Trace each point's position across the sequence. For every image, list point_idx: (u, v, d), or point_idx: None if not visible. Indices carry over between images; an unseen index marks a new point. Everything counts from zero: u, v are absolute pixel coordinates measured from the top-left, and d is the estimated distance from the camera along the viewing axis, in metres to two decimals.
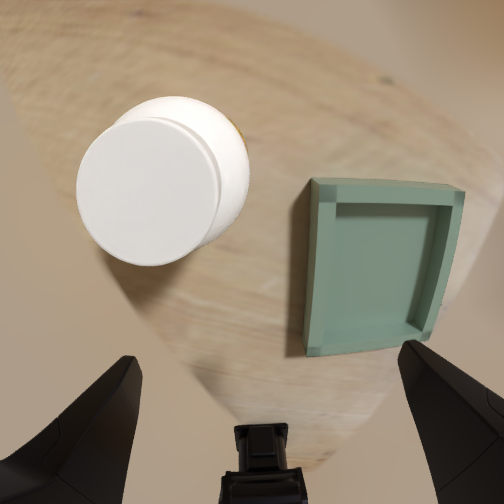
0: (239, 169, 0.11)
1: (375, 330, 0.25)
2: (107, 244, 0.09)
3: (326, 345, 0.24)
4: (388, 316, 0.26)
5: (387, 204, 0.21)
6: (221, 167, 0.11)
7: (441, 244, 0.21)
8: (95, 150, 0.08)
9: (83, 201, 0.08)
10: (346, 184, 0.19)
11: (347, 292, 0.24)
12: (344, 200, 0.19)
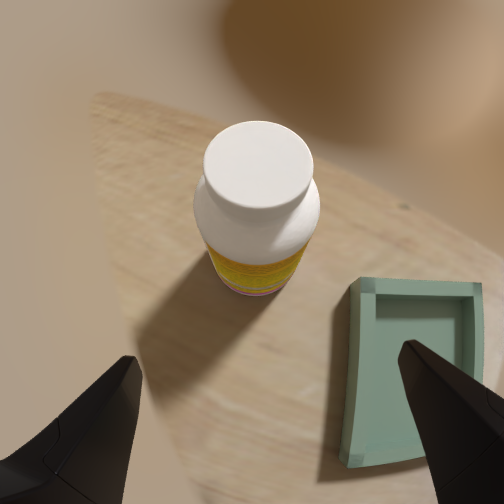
0: (315, 193, 0.15)
1: (418, 439, 0.18)
2: (220, 187, 0.12)
3: (370, 452, 0.17)
4: None
5: (417, 306, 0.22)
6: None
7: (470, 337, 0.20)
8: (230, 131, 0.13)
9: (210, 156, 0.12)
10: None
11: (387, 398, 0.20)
12: (382, 292, 0.21)
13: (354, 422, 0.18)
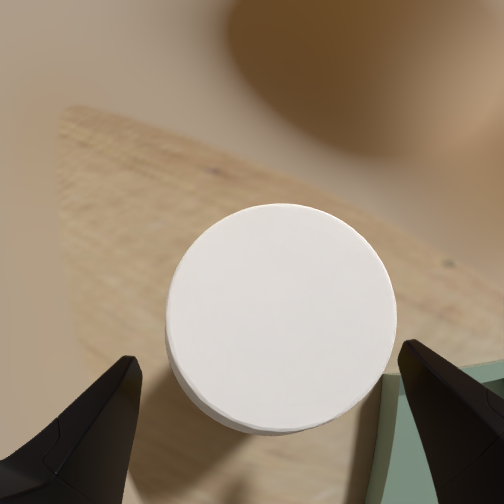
0: None
1: None
2: (204, 384, 0.05)
3: None
4: None
5: None
6: None
7: None
8: (222, 231, 0.06)
9: (180, 302, 0.06)
10: None
11: (412, 493, 0.13)
12: None
13: None
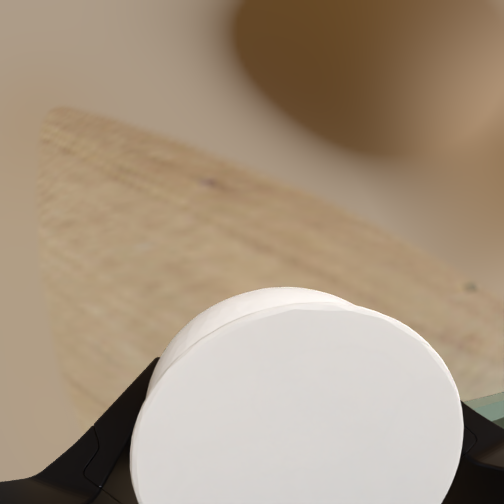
0: None
1: None
2: None
3: None
4: None
5: None
6: None
7: None
8: (211, 357, 0.03)
9: (151, 464, 0.03)
10: None
11: None
12: None
13: None
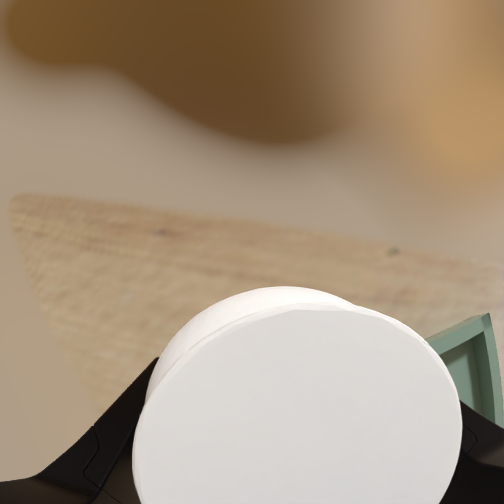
0: None
1: None
2: None
3: None
4: None
5: None
6: None
7: (485, 369, 0.18)
8: (213, 358, 0.03)
9: (153, 465, 0.03)
10: None
11: None
12: None
13: None
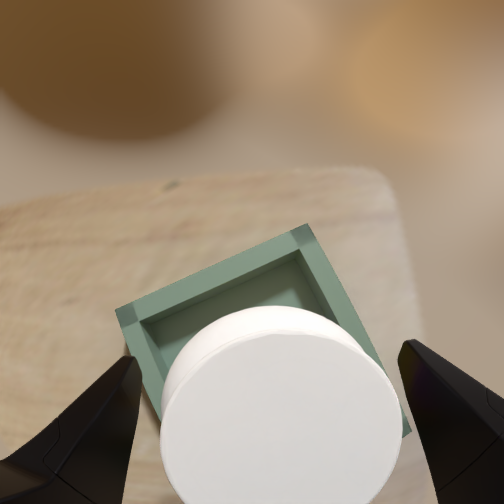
0: None
1: None
2: None
3: None
4: None
5: (223, 302, 0.18)
6: None
7: (325, 304, 0.17)
8: (217, 365, 0.05)
9: (175, 440, 0.05)
10: None
11: None
12: (146, 315, 0.16)
13: None
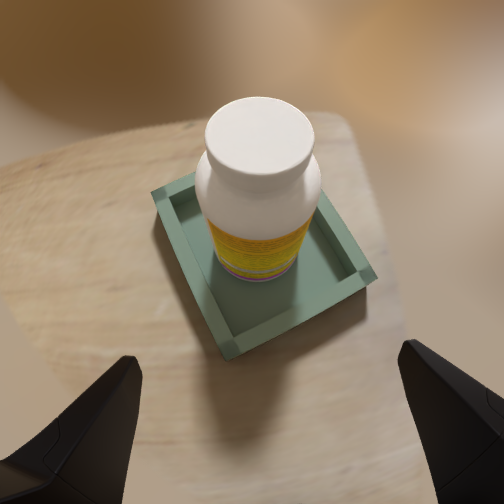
0: (316, 168, 0.15)
1: None
2: (223, 156, 0.12)
3: (239, 335, 0.20)
4: (310, 286, 0.23)
5: None
6: None
7: None
8: (231, 106, 0.13)
9: (212, 129, 0.12)
10: None
11: (238, 279, 0.23)
12: (174, 192, 0.24)
13: (202, 311, 0.20)
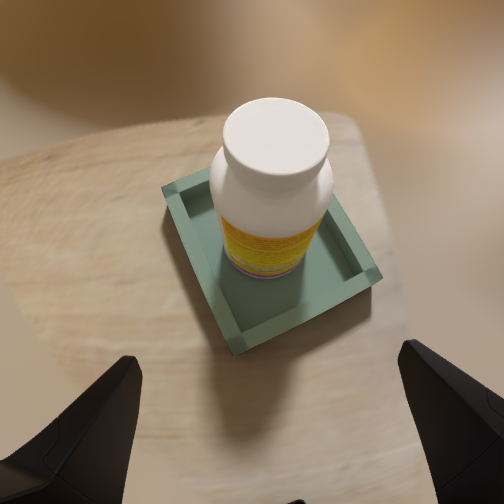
0: (329, 169, 0.15)
1: None
2: (241, 155, 0.12)
3: (247, 331, 0.20)
4: (316, 284, 0.23)
5: None
6: None
7: None
8: (248, 106, 0.13)
9: (230, 128, 0.12)
10: None
11: (247, 276, 0.23)
12: (184, 188, 0.24)
13: (210, 306, 0.21)
